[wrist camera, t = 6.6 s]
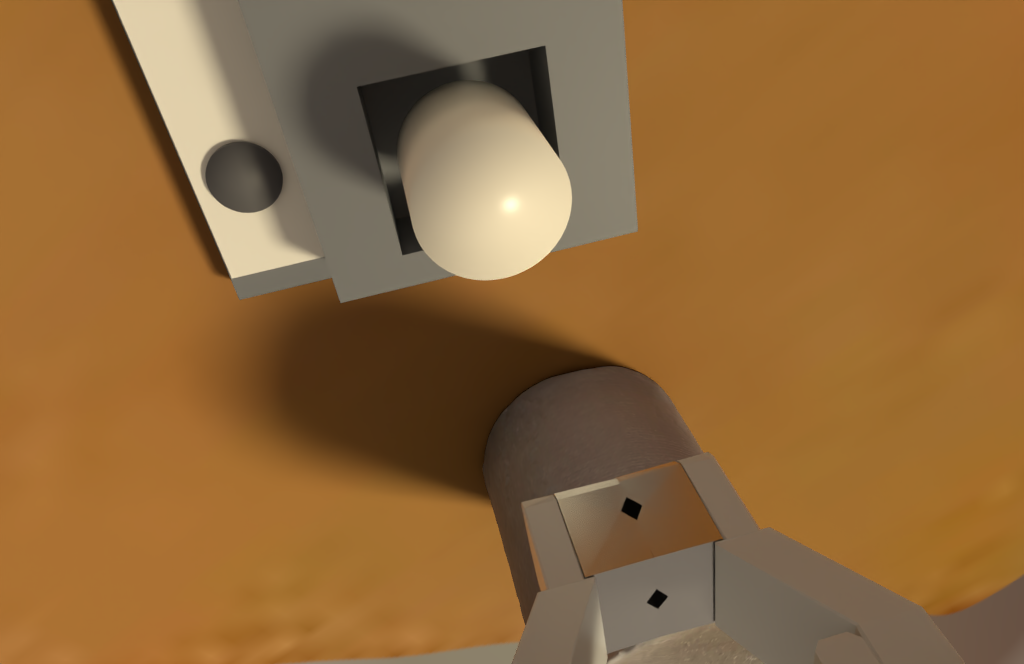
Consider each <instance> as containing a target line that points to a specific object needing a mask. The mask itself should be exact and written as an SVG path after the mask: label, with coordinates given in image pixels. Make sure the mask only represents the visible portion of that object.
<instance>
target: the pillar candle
mask: <svg viewBox="0 0 1024 664" xmlns="http://www.w3.org/2000/svg"><path fill="white" fill-rule="evenodd" d="M699 454H703V451H702V450H701V448H700V446H699V445H698V443H697V441H696V440H695V438H694V436H693V435H692V433H691V431H690V430H689V428H688V427H687V425H686V424H685V422H684V421H683V419H682V417H681V416H680V414H679V412H678V411H677V409H676V407H675V406H674V404H673V403H672V401H671V399H670V398H669V397H668V395H667V394H666V393H665V392H664V391H663V389H662V388H661V387H660V386H659V385H658V384H657V383H655V382H654V381H653V380H651V379H650V378H648V377H647V376H645V375H643V374H641V373H639V372H636V371H633V370H630V369H627V368H624V367H617V366H605V367H599V368H593V369H586V370H580V371H575V372H571V373H567V374H563V375H559V376H555V377H552V378H549V379H546V380H544V381H541V382H539V383H538V384H536V385H534V386H532V387H530V389H528V390H526V391H525V392H523V393H522V394H521V395H520V396H519V397H517V398H516V399H515V400H514V401H513V402H512V403H511V404H510V406H508V407H507V408H506V409H505V410H504V411H503V412H502V414H501V415H500V416H499V418H498V419H497V421H496V422H495V425H494V426H493V428H492V430H491V432H490V435H489V438H488V440H487V445H486V450H485V458H484V464H483V475H484V479H485V484H486V488H487V491H488V494H489V497H490V500H491V504H492V507H493V510H494V513H495V517H496V521H497V524H498V527H499V531H500V534H501V538H502V542H503V545H504V550H505V553H506V556H507V560H508V563H509V566H510V570H511V574H512V578H513V581H514V585H515V589H516V593H517V597H518V599H519V602H520V607H521V612H522V616H523V619H524V622H525V625H526V623H527V620H528V617H529V615H530V612H531V609H532V606H533V604H534V601H535V598H536V595H537V593H538V592H541V590H540V587H539V583H538V579H537V575H536V571H535V566H534V562H533V558H532V554H531V550H530V545H529V540H528V535H527V531H526V526H525V521H524V516H523V512H522V507H521V503H522V502H524V501H528V500H532V499H536V498H540V497H544V496H548V495H552V494H553V496H554V493H558V492H563V491H567V490H571V489H575V488H579V487H583V486H587V485H591V484H595V483H599V482H604V481H608V480H612V479H615V478H616V477H620V476H623V475H627V474H630V473H634V472H638V471H641V470H645V469H648V468H652V467H655V466H659V465H662V464H666V463H669V462H673V461H675V462H677V460H681V459H685V458H688V457H692V456H696V455H699ZM607 657H608V658H607V663H606V664H765V663H764V662H762V661H761V660H760V659H758V658H757V657H756V656H755V655H753V654H752V653H751V652H749V651H748V650H747V649H745V648H744V647H743V646H742V645H740V644H739V643H738V642H736V641H735V640H734V639H732V638H731V637H730V636H728V635H727V634H726V633H725V632H723V631H722V630H721V629H719V628H718V627H717V626H715V623H711V624H708V625H704V626H700V627H696V628H692V629H688V630H685V631H681V632H677V633H673V634H669V635H665V636H662V637H658V638H655V639H652V640H649V641H646V642H642V643H639V644H636V645H633V646H630V647H627V648H624V649H621V650H618V651H614V652H611V653H608V654H607Z"/></svg>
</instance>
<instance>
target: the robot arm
mask: <svg viewBox="0 0 1024 664" xmlns="http://www.w3.org/2000/svg"><path fill="white" fill-rule="evenodd" d="M521 507H522V512H523V516H524V521H525V526H526V531H527V535H528V540H529V545H530V550H531V554H532V558H533V562H534V566H535V571H536V575H537V579H538V583H539V587H540V590H541V592H538V593H537V595H536V598H535V601H534V604H533V606H532V609H531V612H530V615H529V617H528V620H527V623H526V626H525V629H524V631H523V634H522V637H521V640H520V642H519V645H518V648H517V651H516V654H515V656H514V659H513V662H512V664H606V663H607V658H608V657H607V654H608V653H611V652H614V651H618V650H621V649H624V648H627V647H630V646H633V645H636V644H639V643H642V642H646V641H649V640H652V639H655V638H658V637H662V636H665V635H669V634H673V633H677V632H681V631H685V630H688V629H692V628H696V627H700V626H704V625H708V624H711V623H715V626H717V627H718V628H719V629H721V630H722V631H723V632H725V633H726V634H727V635H728V636H730V637H731V638H732V639H734V640H735V641H736V642H738V643H739V644H740V645H742V646H743V647H744V648H745V649H747V650H748V651H749V652H751V653H752V654H753V655H755V656H756V657H757V658H758V659H760V660H761V661H762V662H764V663H765V664H966V663H965V662H964V661H963V659H962V658H961V657H960V656H959V654H958V653H957V652H956V650H955V649H954V648H953V647H952V645H951V644H950V643H949V641H948V640H947V639H946V638H945V636H944V635H943V634H942V632H941V631H940V630H939V628H938V627H937V626H936V624H935V623H934V622H933V621H932V619H931V618H930V617H929V615H928V614H927V613H926V611H925V610H924V609H923V608H922V607H921V606H919V605H917V604H915V603H913V602H911V601H909V600H907V599H905V598H904V597H902V596H900V595H898V594H896V593H894V592H892V591H890V590H888V589H886V588H884V587H883V586H881V585H879V584H877V583H875V582H873V581H871V580H869V579H867V578H865V577H863V576H862V575H860V574H858V573H856V572H854V571H852V570H850V569H848V568H846V567H844V566H843V565H841V564H839V563H837V562H835V561H833V560H831V559H829V558H827V557H825V556H823V555H822V554H820V553H818V552H816V551H814V550H812V549H810V548H808V547H806V546H804V545H802V544H801V543H799V542H797V541H795V540H793V539H791V538H789V537H787V536H785V535H783V534H782V533H780V532H778V531H776V530H774V529H772V528H770V527H769V528H765V529H761V530H760V528H759V527H758V525H757V524H756V522H755V520H754V519H753V517H752V516H751V514H750V513H749V511H748V509H747V508H746V506H745V505H744V503H743V502H742V500H741V498H740V497H739V495H738V494H737V492H736V491H735V489H734V487H733V486H732V484H731V483H730V481H729V479H728V478H727V476H726V475H725V473H724V472H723V470H722V468H721V467H720V465H719V464H718V462H717V461H716V459H715V457H714V456H713V455H711V454H710V453H709V452H706V453H703V454H699V455H696V456H692V457H688V458H685V459H681V460H677V462H675V461H673V462H669V463H666V464H662V465H659V466H655V467H652V468H648V469H645V470H641V471H638V472H634V473H630V474H627V475H623V476H620V477H616V478H615V479H612V480H608V481H604V482H599V483H595V484H591V485H587V486H583V487H579V488H575V489H571V490H567V491H563V492H558V493H554V496H553V494H552V495H548V496H544V497H540V498H536V499H532V500H528V501H524V502H522V503H521Z"/></svg>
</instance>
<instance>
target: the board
mask: <svg viewBox="0 0 1024 664" xmlns="http://www.w3.org/2000/svg"><path fill="white" fill-rule="evenodd" d="M111 1H112V3H113V6H114V8H115V10H116V13H117V15H118V17H119V20H120V22H121V24H122V27H123V29H124V31H125V34H126V36H127V38H128V41H129V43H130V45H131V48H132V50H133V52H134V55H135V57H136V59H137V62H138V64H139V66H140V69H141V71H142V73H143V76H144V78H145V80H146V83H147V85H148V87H149V90H150V92H151V94H152V97H153V99H154V101H155V104H156V106H157V108H158V111H159V113H160V115H161V118H162V120H163V122H164V125H165V127H166V129H167V132H168V134H169V136H170V139H171V141H172V143H173V146H174V148H175V150H176V153H177V155H178V157H179V160H180V162H181V164H182V167H183V169H184V171H185V174H186V176H187V178H188V181H189V183H190V185H191V188H192V190H193V192H194V195H195V197H196V199H197V202H198V204H199V206H200V209H201V211H202V213H203V216H204V218H205V220H206V223H207V225H208V227H209V230H210V232H211V234H212V237H213V239H214V241H215V244H216V246H217V248H218V251H219V253H220V255H221V258H222V260H223V262H224V265H225V267H226V269H227V272H228V274H229V276H230V279H231V281H232V283H233V286H234V288H235V290H236V293H237V295H238V297H239V300H241V299H245V298H249V297H254V296H258V295H262V294H266V293H270V292H275V291H279V290H283V289H287V288H291V287H296V286H300V285H304V284H308V283H312V282H316V281H321V280H325V279H329V278H332V279H333V282H334V285H335V288H336V291H337V294H338V297H339V300H340V303H343V302H347V301H352V300H356V299H360V298H364V297H368V296H372V295H376V294H381V293H385V292H389V291H393V290H397V289H401V288H405V287H409V286H414V285H418V284H422V283H426V282H430V281H434V280H438V279H443V278H447V277H451V276H455V274H453V273H450V272H448V271H446V270H445V269H443V268H442V267H440V266H439V265H437V264H436V263H435V262H434V261H432V259H431V258H430V257H429V256H428V255H427V254H426V253H425V252H424V250H423V249H422V247H421V246H420V244H419V242H418V240H417V238H416V236H415V233H414V230H413V227H412V222H411V218H410V213H409V209H408V204H407V200H406V196H405V191H404V187H403V182H402V178H401V174H400V169H399V164H398V159H397V142H398V136H399V132H400V129H401V126H402V124H403V121H404V120H405V118H406V116H407V114H408V113H409V111H410V110H411V108H412V107H413V106H414V105H415V104H416V103H417V102H418V101H419V100H420V99H421V98H422V97H423V96H424V95H426V94H427V93H428V92H430V91H432V90H433V89H435V88H437V87H439V86H442V85H444V84H447V83H451V82H454V81H461V80H477V81H484V82H487V83H491V84H494V85H496V86H498V87H500V88H502V89H504V90H506V91H507V92H509V93H510V94H511V95H512V96H514V97H515V98H516V99H517V100H518V101H519V102H520V103H521V105H522V106H523V108H524V109H525V110H526V112H527V113H528V115H529V116H530V117H531V119H532V120H533V122H534V123H535V125H536V126H537V127H538V129H539V130H540V132H541V133H542V135H543V136H544V138H545V139H546V140H547V142H548V143H549V145H550V146H551V148H552V149H553V150H554V152H555V153H556V155H557V156H558V158H559V159H560V160H561V162H562V164H563V165H564V167H565V169H566V171H567V174H568V177H569V180H570V185H571V190H572V206H571V213H570V217H569V221H568V223H567V226H566V229H565V231H564V233H563V235H562V237H561V238H560V240H559V241H558V243H557V244H556V246H555V247H554V248H553V249H552V250H551V251H550V252H554V251H558V250H563V249H567V248H571V247H575V246H579V245H583V244H587V243H592V242H596V241H600V240H604V239H608V238H612V237H616V236H621V235H625V234H629V233H633V232H637V231H638V226H637V211H636V196H635V181H634V167H633V152H632V137H631V123H630V108H629V93H628V78H627V64H626V49H625V34H624V20H623V5H622V0H111Z"/></svg>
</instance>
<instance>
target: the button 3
mask: <svg viewBox="0 0 1024 664" xmlns="http://www.w3.org/2000/svg"><path fill="white" fill-rule="evenodd" d="M397 159H398V164H399V169H400V174H401V178H402V182H403V187H404V191H405V196H406V200H407V204H408V209H409V213H410V218H411V222H412V227H413V230H414V233H415V236H416V238H417V240H418V242H419V244H420V246H421V247H422V249H423V250H424V252H425V253H426V254H427V255H428V256H429V257H430V258H431V259H432V261H434V262H435V263H436V264H437V265H439V266H440V267H442V268H443V269H445V270H446V271H448V272H450V273H453V274H455V275H457V276H461V277H464V278H468V279H474V280H497V279H502V278H507V277H510V276H513V275H516V274H519V273H521V272H523V271H525V270H527V269H529V268H531V267H532V266H534V265H535V264H537V263H538V262H539V261H541V260H542V259H543V258H544V257H545V256H546V255H547V254H549V253H550V251H551V250H552V249H553V248H554V247H555V246H556V244H557V243H558V241H559V240H560V238H561V237H562V235H563V233H564V231H565V229H566V226H567V223H568V221H569V217H570V213H571V206H572V190H571V185H570V180H569V177H568V174H567V171H566V169H565V167H564V165H563V164H562V162H561V160H560V159H559V158H558V156H557V155H556V153H555V152H554V150H553V149H552V148H551V146H550V145H549V143H548V142H547V140H546V139H545V138H544V136H543V135H542V133H541V132H540V130H539V129H538V127H537V126H536V125H535V123H534V122H533V120H532V119H531V117H530V116H529V115H528V113H527V112H526V110H525V109H524V108H523V106H522V105H521V103H520V102H519V101H518V100H517V99H516V98H515V97H514V96H512V95H511V94H510V93H509V92H507V91H506V90H504V89H502V88H500V87H498V86H496V85H494V84H491V83H487V82H484V81H477V80H461V81H454V82H451V83H447V84H444V85H442V86H439V87H437V88H435V89H433V90H432V91H430V92H428V93H427V94H426V95H424V96H423V97H422V98H421V99H420V100H419V101H418V102H417V103H416V104H415V105H414V106H413V107H412V108H411V110H410V111H409V113H408V114H407V116H406V118H405V120H404V121H403V124H402V126H401V129H400V132H399V136H398V142H397Z"/></svg>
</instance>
